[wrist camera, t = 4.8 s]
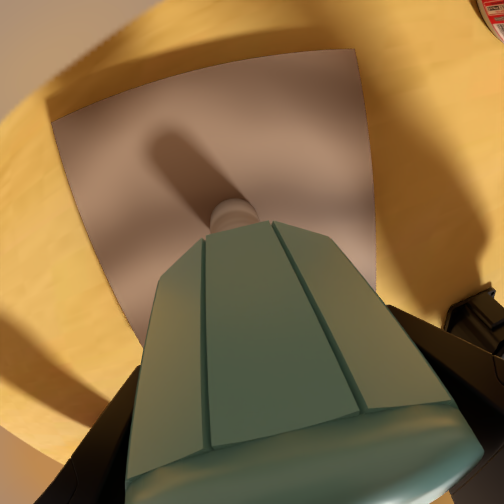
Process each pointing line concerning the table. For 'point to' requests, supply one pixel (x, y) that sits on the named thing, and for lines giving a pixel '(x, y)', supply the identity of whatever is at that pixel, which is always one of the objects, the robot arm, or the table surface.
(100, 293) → the table surface
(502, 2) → the soda can
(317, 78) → the post base
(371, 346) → the cap
